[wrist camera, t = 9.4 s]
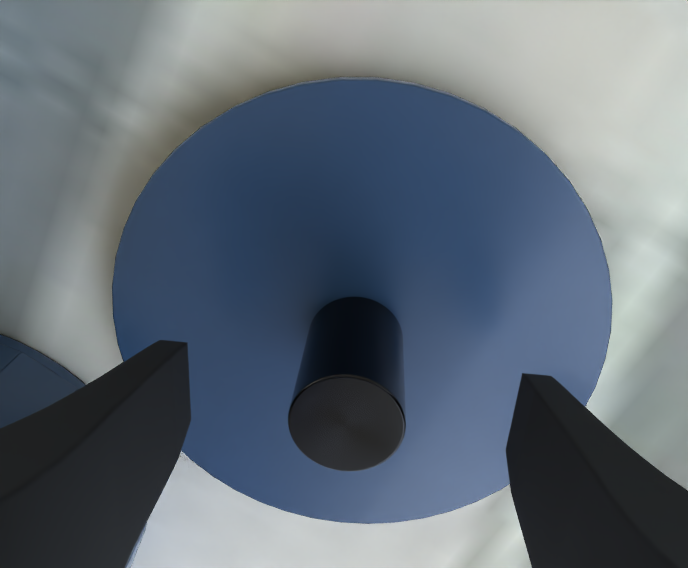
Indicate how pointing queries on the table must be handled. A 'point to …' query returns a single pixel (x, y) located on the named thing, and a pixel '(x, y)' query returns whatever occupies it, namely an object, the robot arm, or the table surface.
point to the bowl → (34, 388)
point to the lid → (362, 294)
